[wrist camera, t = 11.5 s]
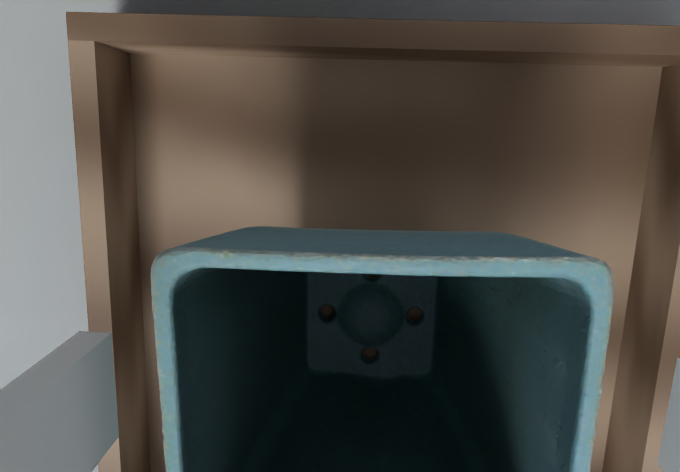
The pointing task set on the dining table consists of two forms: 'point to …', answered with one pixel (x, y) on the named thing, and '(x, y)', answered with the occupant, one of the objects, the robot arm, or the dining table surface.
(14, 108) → the dining table surface
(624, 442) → the box
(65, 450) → the robot arm
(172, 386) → the flower pot
